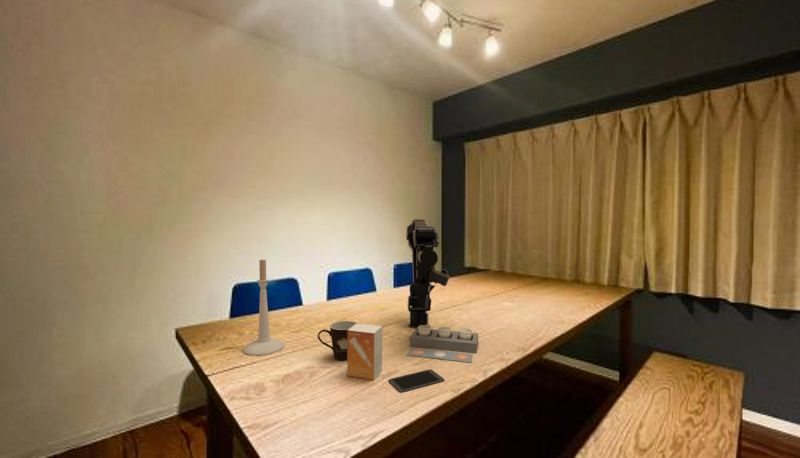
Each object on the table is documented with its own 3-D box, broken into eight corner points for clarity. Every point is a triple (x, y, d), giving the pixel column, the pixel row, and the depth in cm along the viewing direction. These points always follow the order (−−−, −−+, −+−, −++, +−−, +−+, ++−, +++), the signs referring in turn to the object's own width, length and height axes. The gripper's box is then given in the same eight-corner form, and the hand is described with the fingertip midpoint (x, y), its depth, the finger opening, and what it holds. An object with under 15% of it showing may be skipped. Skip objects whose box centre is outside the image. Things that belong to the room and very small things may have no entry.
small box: (347, 376, 96) (346, 329, 95) (356, 366, 102) (356, 322, 101) (374, 380, 93) (374, 332, 93) (382, 370, 100) (382, 325, 99)
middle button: (437, 339, 118) (437, 330, 118) (439, 335, 122) (439, 326, 122) (450, 341, 117) (450, 331, 117) (451, 336, 121) (451, 327, 121)
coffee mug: (362, 353, 112) (362, 322, 111) (350, 364, 104) (350, 331, 103) (330, 348, 116) (330, 318, 115) (316, 359, 107) (315, 326, 107)
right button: (457, 341, 116) (457, 332, 116) (459, 337, 120) (459, 327, 120) (471, 343, 115) (471, 333, 115) (472, 338, 119) (472, 329, 119)
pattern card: (406, 355, 110) (406, 354, 110) (411, 348, 116) (411, 347, 116) (471, 362, 104) (471, 361, 104) (472, 355, 110) (472, 353, 110)
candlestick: (236, 348, 116) (234, 258, 114) (273, 338, 125) (271, 255, 124) (253, 359, 107) (251, 262, 106) (291, 347, 116) (290, 258, 115)
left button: (416, 337, 120) (416, 328, 120) (419, 333, 124) (419, 324, 124) (429, 339, 119) (429, 329, 119) (431, 334, 123) (431, 325, 123)
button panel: (409, 345, 118) (409, 337, 118) (416, 335, 128) (416, 327, 127) (476, 353, 112) (476, 343, 112) (478, 341, 121) (478, 333, 121)
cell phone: (445, 382, 93) (446, 379, 93) (399, 395, 87) (399, 392, 87) (431, 371, 100) (431, 368, 100) (387, 382, 93) (387, 379, 93)
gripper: (443, 268, 109) (443, 317, 110) (451, 260, 127) (451, 302, 128) (409, 266, 112) (409, 314, 113) (421, 259, 130) (421, 300, 131)
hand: (424, 307), depth 121 cm, fingers open, 3 cm apart
